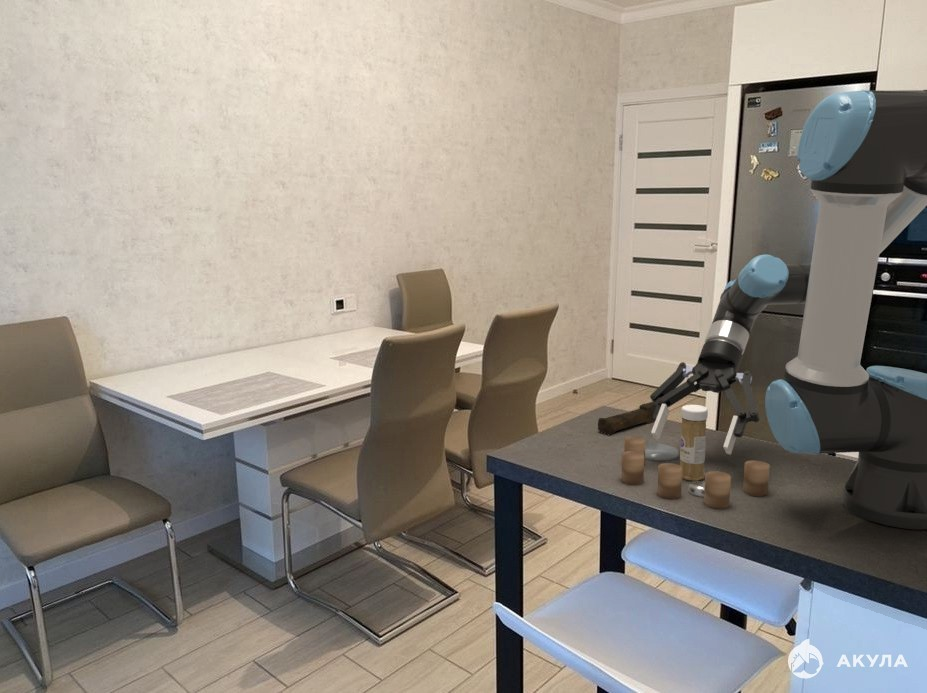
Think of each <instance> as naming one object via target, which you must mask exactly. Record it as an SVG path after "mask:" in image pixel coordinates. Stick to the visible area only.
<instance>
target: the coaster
mask: <svg viewBox="0 0 927 693" xmlns="http://www.w3.org/2000/svg"><path fill="white" fill-rule="evenodd" d="M678 457H679V450H678V449H677V448H676V447H674V446H672V445H668V444H664V443H657V442H646V446H645V461H646V460H647V461H653V462H665V461H666V462H667V461H672V460H675V459H677V458H678Z"/></svg>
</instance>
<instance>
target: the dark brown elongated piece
mask: <svg viewBox="0 0 927 693" xmlns="http://www.w3.org/2000/svg"><path fill="white" fill-rule="evenodd" d="M656 407H657V405H654V403H653V402H652V401H651V402H648V403H642V404H640V405H639V407H638V408H637V409H635V410H630V411H626V412H623V413H619V414H616V415H612V416H608V417H599V418H598V421H597V430H598V432H599V431H600V432H602V433H605V434H609V435H608V436H610V435H611V434H615V433H616V432H618V431H621V430H624V429H628V428H631V427H634V426H635V427H636V426H637V425H641V424H644V425H649V424H652V423H655V421H654V419H653V414H654V412H655V409H656ZM600 432H599V433H600ZM602 433H601V434H602ZM605 434H604V435H605Z"/></svg>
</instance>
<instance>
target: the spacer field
mask: <svg viewBox="0 0 927 693" xmlns="http://www.w3.org/2000/svg"><path fill="white" fill-rule="evenodd" d="M623 441H624V442H623V443H624V445H623V448H624V449H623V452H622V453H621V474H620V476H621V477H620V478H621V482H622V483H624V484H626V485H632V486H633V485H635V486H636V485H637V486H638V485H641V484H643V483H644V482H645V481H644V480H645V479H644V478H645V475H644V474H645V466H646V459H645V446H646V443H647V441H646V438H644V437H641V436H627V437H625V438H624V440H623ZM770 468H771V466H770V464H769V463H767V462H765V461H761V460H747V461H745V462H744V468H743V469H744V471H743V484H742V485H743V488H742V491H743V492H744V493H745V494H747V495H749V496H755V497H765V496H767V495H768V493H769V483H770V481H769V480H770ZM704 478H705V479H704V482H705V497H703V498H704V505H705V506H707V507H709V508H711V509H717V510H724V509H727V508H729V507H730V503H731V502H730V500H731V482H732V481H731V480H732V476H731V475H730V474H728V473H726V472H722V471H717V470H715V471H712V470H711V471H708V472H706V473H705V475H704ZM682 481H683V478H682V467H681V466H680V464H677V463H671V462H670V463H669V462H666V463H665V462H664V463H660V464H658V466H657V490H656V491H657V495H658V496H659V497H661V498H663V499H667V500H675V499H680V498H681V497H682V483H683V482H682Z"/></svg>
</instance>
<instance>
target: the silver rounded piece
mask: <svg viewBox="0 0 927 693" xmlns="http://www.w3.org/2000/svg"><path fill="white" fill-rule="evenodd" d="M687 489H688V494H689V495H691V496H693V497H698V498H705V480H704V481H703V480H697V481H690V482H689V483H688V488H687Z"/></svg>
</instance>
